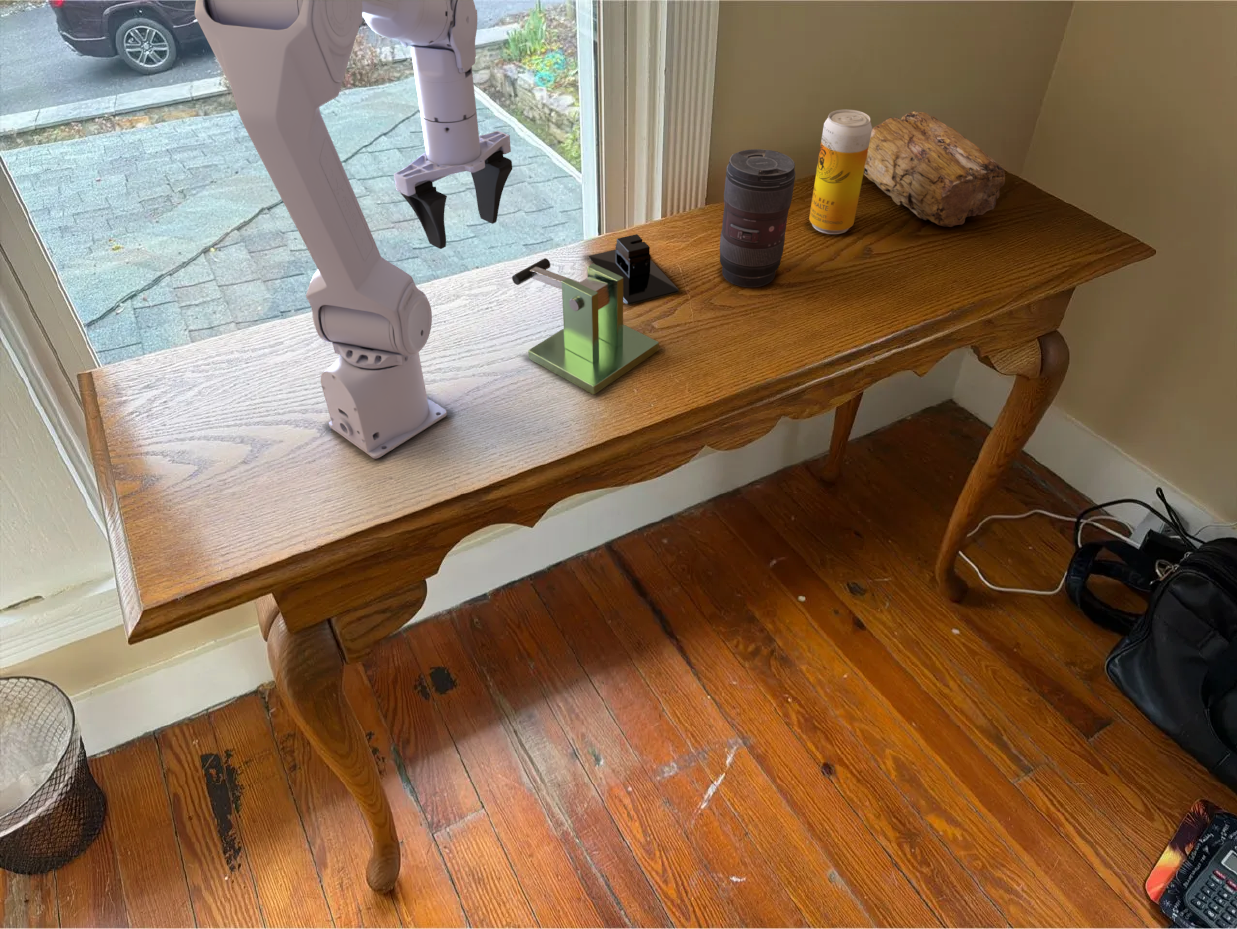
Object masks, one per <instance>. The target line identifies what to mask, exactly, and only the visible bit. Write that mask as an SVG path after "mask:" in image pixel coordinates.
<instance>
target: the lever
mask: <svg viewBox="0 0 1237 929" xmlns="http://www.w3.org/2000/svg"><path fill="white" fill-rule="evenodd" d="M550 268H551V261H550V260H549V259H548V258H546V257H545V258H543V259H540V260H539V261H537V262H535V263H534V264H531V265H530V266H528V267H525V268H524V269H522V270H520V271H518V272H516V273H514V274H513V275H512V276H511V279H512V282H513V283H514V285H516V286H520V285H521V284H523V283H524V282H526V281H528V280H531V279H533V280H535V281H538V282H540V283H542V284H545V285H549V286H551V287H554V288H557V289H560V290H562V281H563V280H565V279H567V278H569V277H568V276H565V275H561V274H558V273H555V272H553V271H550V270H549V269H550ZM569 279H571V280H573V281H575V282H577V283H579V284H581V285H584V286H586V287H588V288H590V289H592V290H594V291H596V292H598V310H599V309H601V308H602V307H604V306H606V305H607V304H609V303H610V299H609V288H608V283H606V282H603V281H600V280H597V279H594V278H591V277H588V276H587V277H586V278H585V279H583V280H581V281H578V280H576V279H572V278H569Z"/></svg>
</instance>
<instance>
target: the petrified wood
mask: <svg viewBox="0 0 1237 929" xmlns="http://www.w3.org/2000/svg"><path fill="white" fill-rule="evenodd" d="M863 176H865V177H866V178H867V179H868V181H871V182H872V183H875V185H876V186H877V187H878V188H879V189H880V190H881V191H882V192H884V193H885V194H886V195H887V196H890V198H891V200H892V201H893V202H894V203H895V204H896V205H897V206H901V205H902V206H904V207H906V208H908V209H909V210H910V211H911V212H912V213H913V214H915V216H916V217H918V218H919V219H922V220H924V221H928V220H929V221H930V222H932V223H934V224H935V225H937V226H941V227H949V228H953V227H954V226H958V225H960V226H962V225H963V224H964V223H965V221H966V218H968V217H969V218H970V217H976V216H982V215H984V214H986V213H987V212H989V211H991V210H994V208H996V204H997V200H998V199H999V197H1000V189H1001V188H1002V187H1003V186H1004V185H1005V183H1006V174H1005V169H1004V168H1003V167H1002V166H1001V165H1000V164H999V163H998V162H997V161H995V160H994V159H993V158H992V157H991V156H989V155H988V154H987V153H986V152H985V151H984V150H982V149H981V148H980V147H979V146H977V144H975V143H973V142H972V141H971V140H969V139H967V138H966V137H965V136H963V135H962V134H961V133H960V132H959V131H958V130H956V129H955V128H953V127H951V126H948V125H947V124H945V123H943V122H942V121H941V120H939V119H938V118H937V117H936V116H934V115H930V114H929V113H928V112H924V111H915V110H913V111H911V112H908V113H905V115H903V116H902V117H901V118H899V117H897V116H895V117H892V116H890V117H889V118H887V119H886V120H883V121H882V122H881V123H879V124H877V125H876V126H874V127H872V132H871V137H870V143H869V148H868V153H867V158H866V163H865V168H864V174H863Z"/></svg>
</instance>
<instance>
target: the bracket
mask: <svg viewBox="0 0 1237 929" xmlns="http://www.w3.org/2000/svg"><path fill="white" fill-rule="evenodd" d="M586 270H587V272H586V274H587V275H586V276H587V278H588V277H591V278H594V279H597V280H600V281H603V282H606V283H608V288H609V299H610V303H609V304H607V305H606V306H604V307H602V308H601V309H599V310H598V292H596V291H594V290H592V289H590V288H588V287H586V286H584V285H581V284H579V283H577V282H575V281H576V280H575V281H573V280H574V279H573V280H571V279H572V278H570V279H569V277H567V279H565V280H563V281H562V289H561V298H562V299H561V301H562V320H563V321H562V323H563V328H562V329H561V330H559V331H558V332H555V333H554V334H552V335H551V336H549V337H547V338H546V339H544V340H542V341H541V342H539V343H538V344H536V345H535V346H534V345H533V347H531V348H530V349H528V350H527V354H528V356H527V357H528V359H529V360H530V361H531V362H534V363H536V364H537V365H539V366H541V367H543V368H545V369H546V370H548V371H550V372H552V373H553V374H555V375H557V376H559V377H561V378H562V379H564V380H566V381H568V382H569V383H570V384H573V385H575V386H576V387H578V388H580V389H582V390H584V391H586V392H588V393H589V394H591V395H593V396H595V395H597V393H599V392H601V391H602V390H603V389H605V388H606V387H608V386H609V385H611V384H612V383H613V382H615V381H616V380H618V379H619V378H621V377H622V376H624V375H625V374H627V373H628V372H629V371H631V370H632V369H634V368H635V367H637V366H639V365H640V364H641V363H643V362H644V361H645V360H647V359H648V358H650V357H651V356H653V355H654V354H656V353H657V352H658V351H659V349H660V342H659V341H658V340H656V339H654V338H652V337H650V336H649V335H646V334H644V333H642V332H640V331H638V330H636V329H633V328H632V327H629V326H627V325H626V324H624V302H623V277H621V276H619V275H617V274H615V273H613V272H611V271H608V270H606V269H604V268H602V267H600V266H598V265H595V264H593V263H592V264H589V265H588V266H587V267H586Z"/></svg>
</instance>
